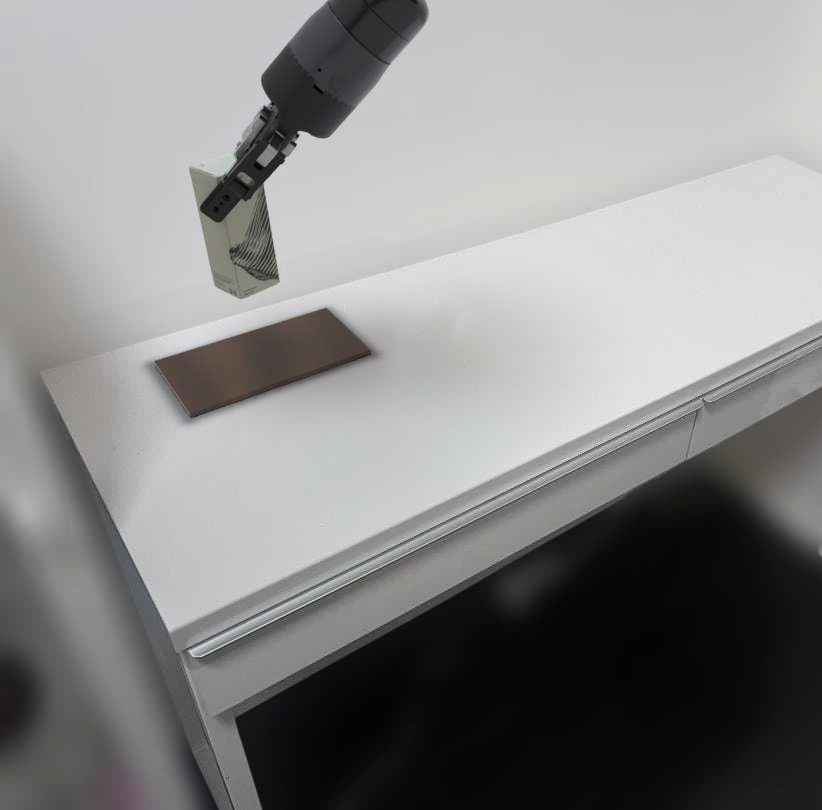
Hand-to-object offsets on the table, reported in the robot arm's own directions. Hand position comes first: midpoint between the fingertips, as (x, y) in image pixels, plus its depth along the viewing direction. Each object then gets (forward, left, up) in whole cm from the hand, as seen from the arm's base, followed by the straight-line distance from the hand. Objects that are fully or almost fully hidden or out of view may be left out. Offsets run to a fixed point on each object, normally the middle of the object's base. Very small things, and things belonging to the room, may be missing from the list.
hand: (216, 199), depth 77 cm
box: (+1, -1, -9) cm, 10 cm away
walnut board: (+1, -1, -19) cm, 19 cm away
